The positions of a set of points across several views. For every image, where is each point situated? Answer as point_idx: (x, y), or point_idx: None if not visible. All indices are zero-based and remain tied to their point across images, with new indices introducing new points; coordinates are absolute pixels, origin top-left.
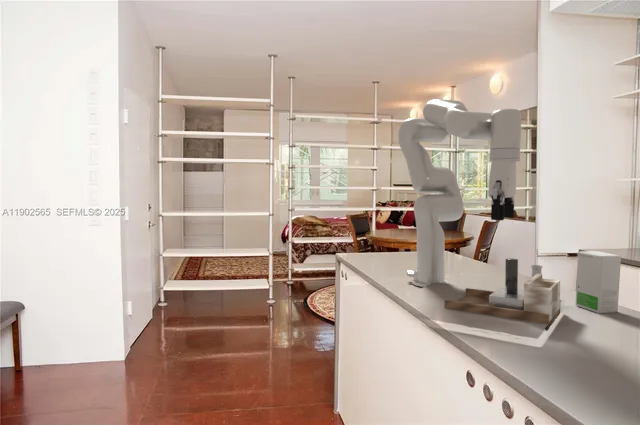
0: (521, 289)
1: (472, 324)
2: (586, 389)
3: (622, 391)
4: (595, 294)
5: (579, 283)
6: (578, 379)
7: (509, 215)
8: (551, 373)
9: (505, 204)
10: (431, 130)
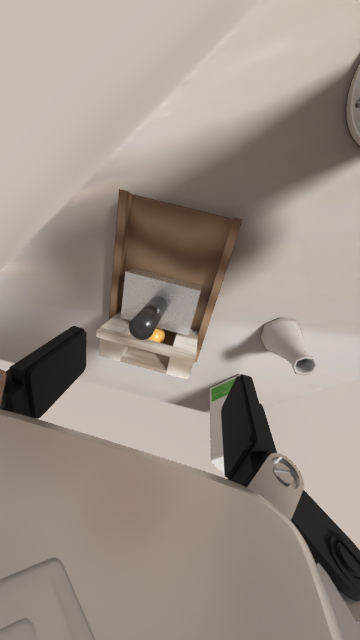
0: (192, 320)
1: (93, 246)
2: None
3: (5, 356)
4: (215, 402)
5: None
6: (5, 335)
7: (226, 407)
8: (3, 319)
9: (242, 449)
10: None
